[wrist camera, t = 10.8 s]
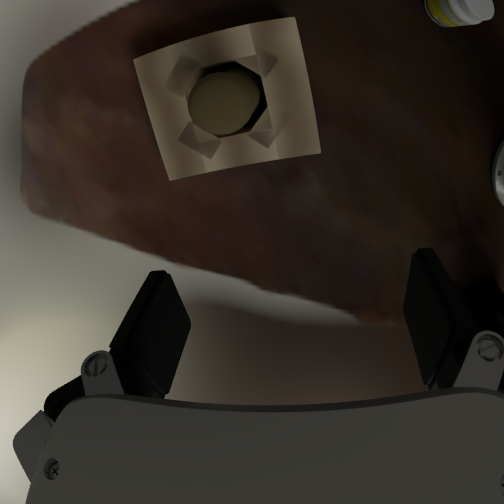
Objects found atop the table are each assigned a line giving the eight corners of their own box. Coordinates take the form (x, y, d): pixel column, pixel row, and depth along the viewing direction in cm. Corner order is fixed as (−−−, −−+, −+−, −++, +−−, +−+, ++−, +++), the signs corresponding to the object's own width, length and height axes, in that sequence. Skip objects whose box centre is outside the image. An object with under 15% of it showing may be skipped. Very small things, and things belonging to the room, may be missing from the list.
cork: (203, 113, 30) (170, 134, 21) (216, 62, 27) (186, 60, 18) (256, 126, 31) (245, 153, 22) (271, 76, 27) (268, 77, 18)
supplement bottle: (445, -10, 17) (484, -21, 10) (462, 24, 20) (504, 21, 13) (416, -6, 19) (452, -19, 12) (434, 30, 21) (474, 26, 14)
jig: (292, 23, 24) (294, 16, 20) (316, 143, 31) (320, 153, 28) (148, 59, 27) (133, 59, 23) (180, 168, 34) (169, 180, 31)
